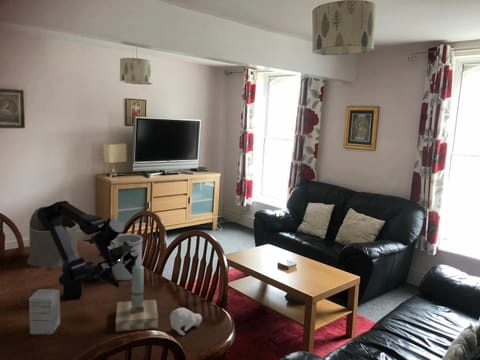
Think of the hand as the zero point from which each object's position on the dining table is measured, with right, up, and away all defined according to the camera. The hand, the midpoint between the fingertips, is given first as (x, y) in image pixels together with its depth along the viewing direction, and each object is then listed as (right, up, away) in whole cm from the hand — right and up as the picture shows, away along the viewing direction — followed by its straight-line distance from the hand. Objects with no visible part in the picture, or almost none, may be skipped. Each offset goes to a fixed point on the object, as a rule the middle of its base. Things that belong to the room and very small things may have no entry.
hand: (127, 282), depth 139 cm
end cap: (-27, -7, +32) cm, 43 cm away
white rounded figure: (+22, -16, -4) cm, 27 cm away
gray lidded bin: (-50, -3, +51) cm, 71 cm away
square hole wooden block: (+3, -14, 0) cm, 14 cm away
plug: (+4, -8, -1) cm, 8 cm away
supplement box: (-25, -14, -9) cm, 30 cm away
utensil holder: (-13, -7, +40) cm, 42 cm away
